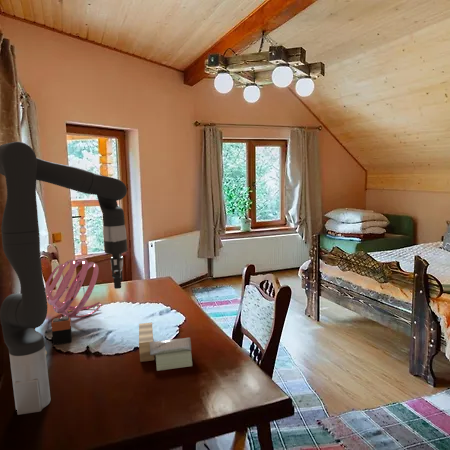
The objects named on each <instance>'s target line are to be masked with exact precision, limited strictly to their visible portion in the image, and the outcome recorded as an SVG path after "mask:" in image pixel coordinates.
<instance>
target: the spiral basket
mask: <svg viewBox="0 0 450 450" xmlns="http://www.w3.org/2000/svg"><path fill="white" fill-rule="evenodd" d="M81 263H82V266H81V269H80V270H79V272H78V273H77V274H76V275H75V276H74V273H75V271H76V269H77V267H78V266H79V265H80V264H81ZM68 265H69V268H68V270H67V272H66V273H65V275H64V276H63V277H62V274H63V271H65V269H66V268H67V266H68ZM92 267H93V271H92V276H91V278H90V282H89V284H88V287H87V289H86V291H85V293H84V295H83V296H82V298H81V300H80V302H79V303H78V304H77V306H75V305H72V303H73V302H74V300H75V298H76V297H77V295H78V294H79V292H80V291H81V289H82V286H83V284H84V281H85V279H86V276H87V274H88V270H89V269H91V268H92ZM57 270H58V271H57ZM99 271H100V270H99V265H98V264H97V263H95V262H93V261H90V262H88V260H87V259H85V258H80V259H78V260H76V259H74V258H73V259H69V260H67V261H65V262H63V263H60V264H58V265H57V266H55V268H54V269H53V270H52V271H51V274H50V275H49V277H48V279H47V281H46V282H45V286H44V287H45V293H46V298H47V304H49V305H50V306H52V309H53V311H54V312H55V313H56V314H62V317H65V316H67V317H70V319H82V318H86V317H90V316H91V315H93V314H95V313H96V312H97V311H99V309H100V308H101V307H102V303H100V302H99V301H98V302H95V303H94V304H91V305H87V306H85V305H86V303H87V302H88V300H89V298H90V296H91V295H92V293H93V291H94V288H95V285H96V283H97V282H98V281H97V279H98V277H99ZM55 273H56V274H55ZM54 275H55V276H54ZM73 276H74V277H75V278H74V279H73ZM53 277H54V278H53ZM61 277H62V280H61ZM72 279H73V281H72V282H71V280H72ZM60 280H61V281H60ZM51 281H52V282H51ZM59 281H60V282H59ZM58 282H59V283H60V284H59V285H58V287H57V290H56V292H55V295H54V296H53V291H54V288H55V287H56V286H57V284H58ZM70 282H71V284H70ZM50 283H51V284H50ZM69 285H70V286H69ZM68 286H69V288H68ZM67 288H68V290H66V289H67ZM66 291H67V293H66V294H65V292H66ZM63 294H65V298H64V301H63V302H61V301H60V299H61V298H62V296H63ZM95 307H96V308H95ZM91 308H95V309H94V310H93V311H91V312H90V313H87V314H83V315H78V314H79V313H80V312H81V311H83V310H89V309H91ZM68 311H71V312H68Z"/></svg>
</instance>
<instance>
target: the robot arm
mask: <svg viewBox="0 0 450 450" xmlns="http://www.w3.org/2000/svg"><path fill="white" fill-rule="evenodd" d="M0 175H2V176H3V177H5V185H6V202H5V206H4V209H3V215H2V221H1V242H2V243H1V244H2V250H3V252H4V256H5V257H6V259H7V260H8V263H9V264H10V266H11V268H12V269H13V270H14V272H15V273H16V276H17V278H18V280H19V284H20V290H21V291H20V292H21V293H11V294H9V295H8V296H6V297H5V299H4V300H3V301H2V303H1V306H0V324H1V329H2V331H1V332H2V335H3V340H4V344H5V345H6V347H7V349H8V354H9V362H10V372H11V379H12V388H13V397H14V406H15V411H16V410H17V411H16V413H17V415H18V416H19V415H27V414H32V413H39V412H42V410H43V409H44V408H46V407H47V406H48V405H49V404H50V403H51V391H50V381H49V373H48V372H49V371H48V362H47V361H48V360H47V355H46V351H47V350H46V343H45V337H44V336H43V335H44V334H41V333H40V332H38V331H37V330H36V329H37V328H39V327H41V326H42V325H43V324H44V323H45V320H46V319H47V316H48V301H47V294H46V292H45V287H46V286H45V283H44V277H43V270H42V269H43V267H42V259H41V258H42V257H41V242H40V241H41V238H40V226H39V217H38V216H39V215H38V213H39V212H38V205H37V204H38V203H37V181H39V182H44V183H48V184H52V185H55V186H58V187H62V188H65V189H69V190H71V191H76V192H78V193H82V194H87V195H95V196H96V197H97V202H98V204H99V207H100V210H101V213H102V225H103V227H102V228H103V230H102V231H103V233H102V235H103V236H102V237H103V246H104V253H105V254H107V255H111V257H110V265H111V266H110V267H111V268H110V270H111V277H112V279H113V287H114V289H115V290H117V289H121V288H122V282H123V266H124V257H123V255H122V254H124V253H126V252H128V240H127V239H128V238H127V229H126V221H125V211H124V209H123V208H121V207H120V206H119V205H118V201H120V200H123V199H124V198H125V197H126V195H127V192H128V189H127V185H126V184H125V183H124V182H123V181H122V180H120V179H118V178H115V177H111V176H106V175H101V174H96V173H94V172H92V171H89V170H86V169H83V168H80V167H76V166H73V165H67V164H61V163H57V162H51V161H49V160H44V159H41V158H39V157H37V155H36V153H35V150H34V149H33V147H31V146H30V145H29V144H28V143H26V142H23V141H13V142H7V143H4V144H0ZM33 328H35V330H34V329H33Z"/></svg>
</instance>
